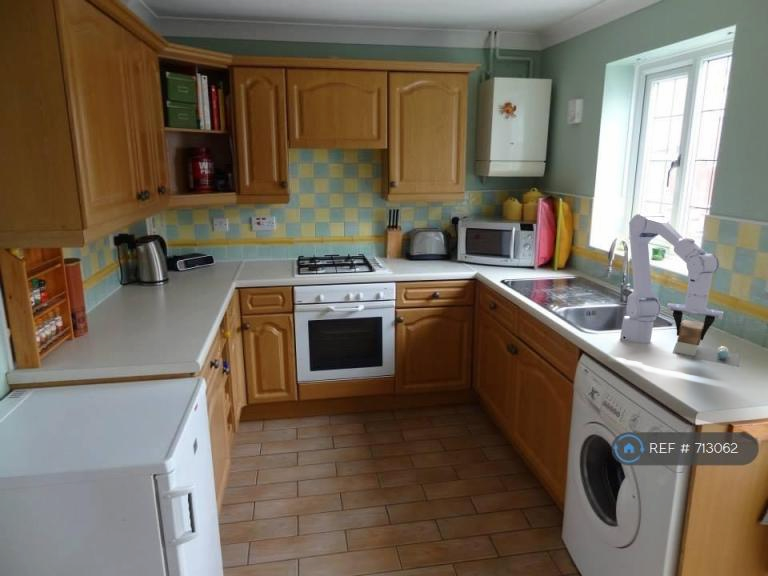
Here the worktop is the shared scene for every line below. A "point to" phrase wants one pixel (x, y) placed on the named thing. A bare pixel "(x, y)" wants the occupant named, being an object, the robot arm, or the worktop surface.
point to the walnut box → (690, 332)
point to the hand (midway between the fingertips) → (689, 337)
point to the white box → (686, 348)
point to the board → (712, 356)
